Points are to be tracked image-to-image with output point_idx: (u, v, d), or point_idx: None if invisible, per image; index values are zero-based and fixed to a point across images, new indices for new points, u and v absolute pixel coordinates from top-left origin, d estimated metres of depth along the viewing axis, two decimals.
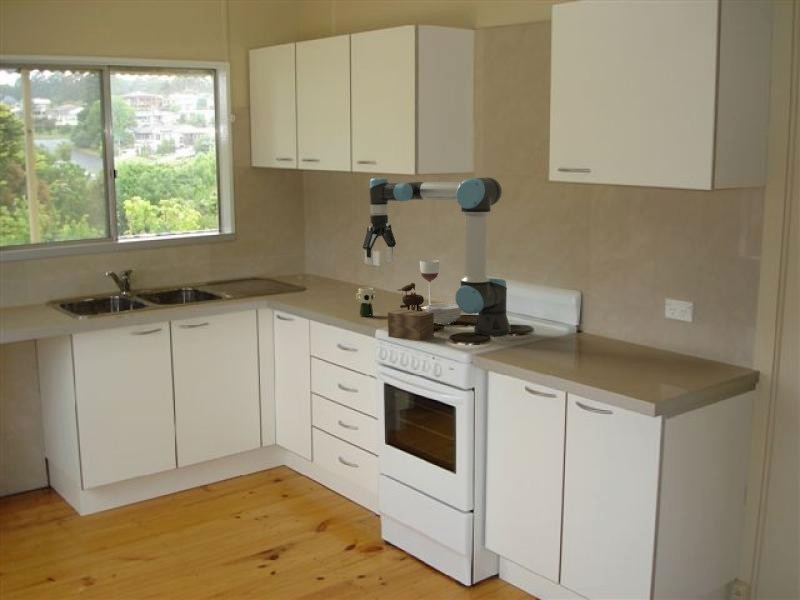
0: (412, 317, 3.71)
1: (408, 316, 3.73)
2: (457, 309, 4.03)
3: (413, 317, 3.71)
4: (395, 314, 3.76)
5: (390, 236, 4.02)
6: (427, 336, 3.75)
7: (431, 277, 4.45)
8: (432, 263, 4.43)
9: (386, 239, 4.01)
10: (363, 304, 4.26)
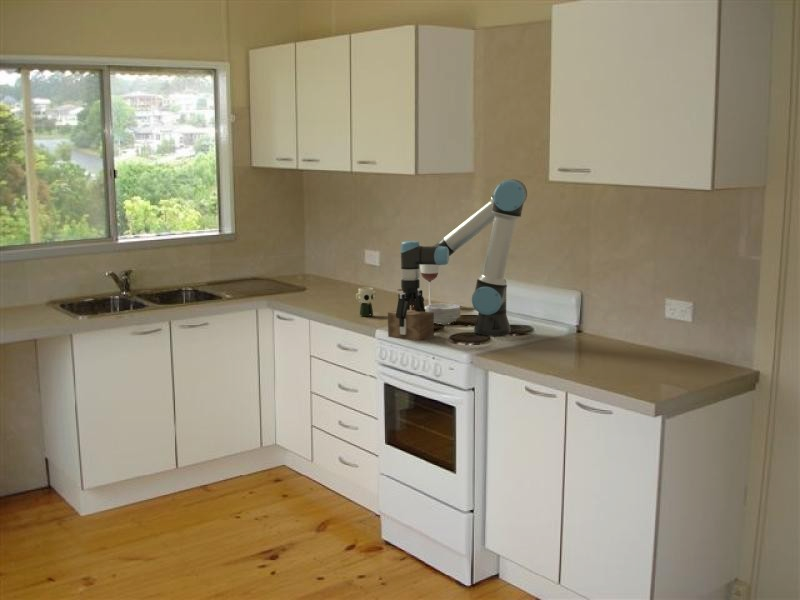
0: (412, 317, 3.71)
1: (408, 316, 3.73)
2: (457, 309, 4.03)
3: (413, 317, 3.71)
4: (395, 314, 3.76)
5: (420, 302, 3.82)
6: (427, 336, 3.75)
7: (431, 277, 4.45)
8: None
9: (415, 306, 3.81)
10: (363, 304, 4.26)
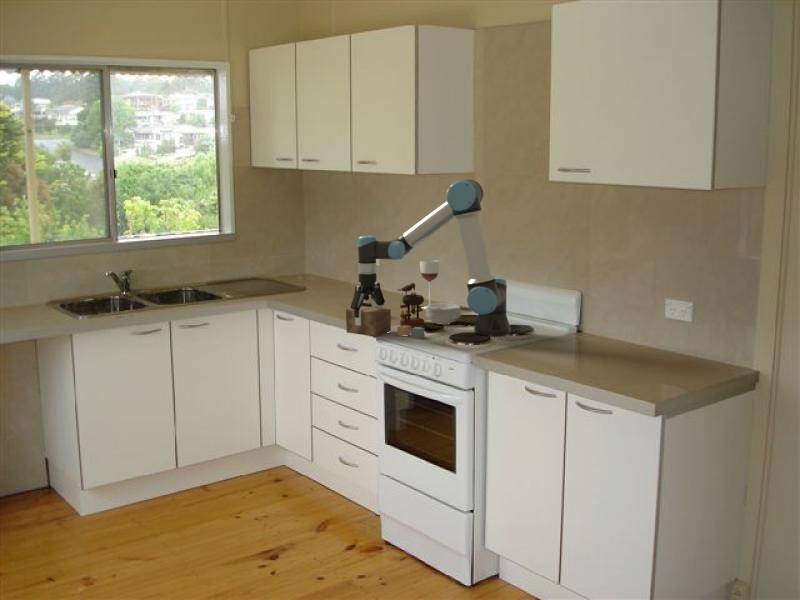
0: (369, 314, 3.81)
1: (365, 313, 3.82)
2: (457, 309, 4.03)
3: (370, 314, 3.81)
4: (353, 311, 3.86)
5: (379, 294, 3.92)
6: (384, 332, 3.84)
7: (431, 277, 4.45)
8: (432, 263, 4.43)
9: (374, 298, 3.90)
10: (363, 304, 4.26)
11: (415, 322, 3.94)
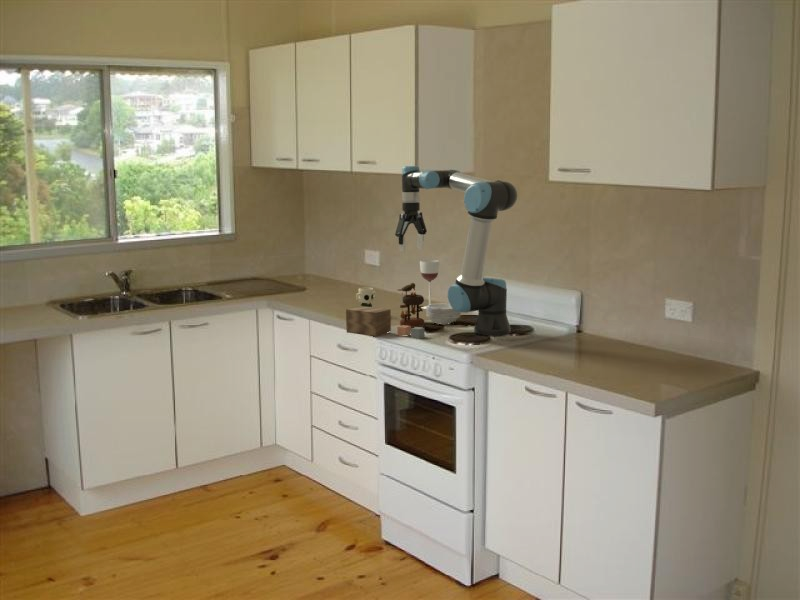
0: (369, 314, 3.81)
1: (365, 313, 3.82)
2: None
3: (370, 314, 3.81)
4: (353, 311, 3.86)
5: (421, 224, 4.06)
6: (384, 332, 3.84)
7: (431, 277, 4.45)
8: (432, 263, 4.43)
9: (417, 227, 4.04)
10: (363, 304, 4.26)
11: (415, 322, 3.94)
